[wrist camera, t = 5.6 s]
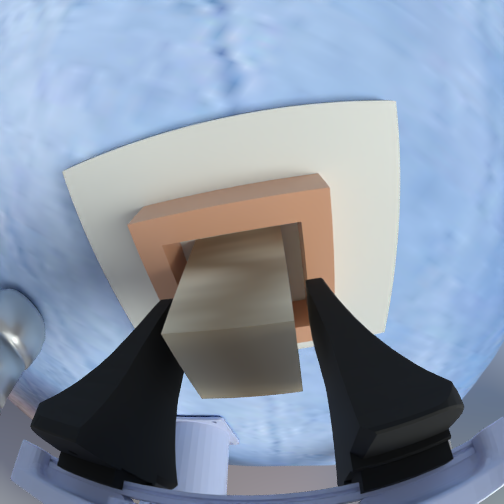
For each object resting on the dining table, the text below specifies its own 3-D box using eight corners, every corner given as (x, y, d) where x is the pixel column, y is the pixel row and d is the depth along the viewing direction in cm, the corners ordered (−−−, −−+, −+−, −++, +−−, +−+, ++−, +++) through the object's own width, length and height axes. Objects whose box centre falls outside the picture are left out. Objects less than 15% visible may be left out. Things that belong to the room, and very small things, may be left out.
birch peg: (217, 303, 15) (201, 398, 10) (195, 239, 13) (160, 333, 8) (290, 293, 15) (302, 391, 9) (280, 225, 13) (293, 320, 7)
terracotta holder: (193, 328, 16) (187, 354, 14) (143, 206, 12) (127, 224, 10) (327, 311, 15) (334, 336, 14) (318, 173, 11) (329, 187, 10)
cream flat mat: (158, 350, 19) (155, 360, 18) (72, 166, 12) (62, 171, 11) (379, 321, 17) (384, 332, 16) (386, 100, 10) (395, 101, 9)
